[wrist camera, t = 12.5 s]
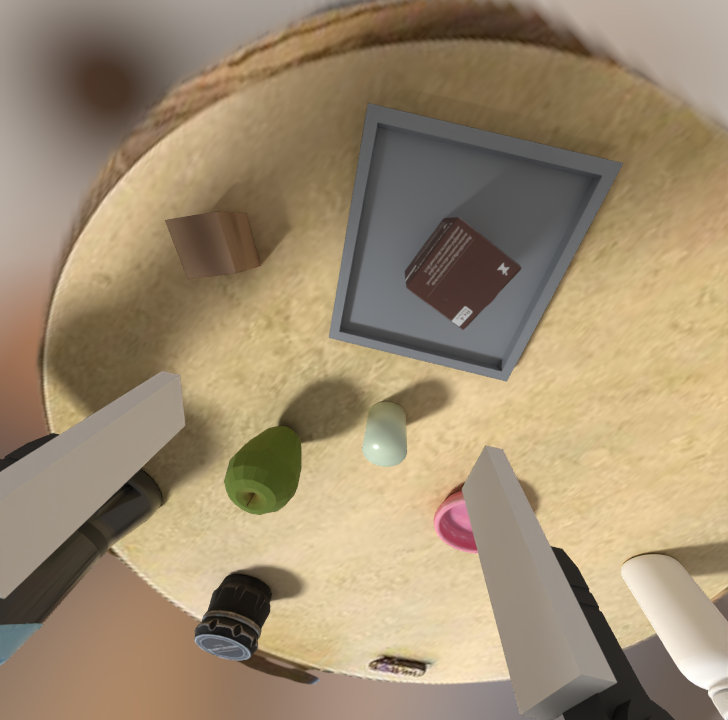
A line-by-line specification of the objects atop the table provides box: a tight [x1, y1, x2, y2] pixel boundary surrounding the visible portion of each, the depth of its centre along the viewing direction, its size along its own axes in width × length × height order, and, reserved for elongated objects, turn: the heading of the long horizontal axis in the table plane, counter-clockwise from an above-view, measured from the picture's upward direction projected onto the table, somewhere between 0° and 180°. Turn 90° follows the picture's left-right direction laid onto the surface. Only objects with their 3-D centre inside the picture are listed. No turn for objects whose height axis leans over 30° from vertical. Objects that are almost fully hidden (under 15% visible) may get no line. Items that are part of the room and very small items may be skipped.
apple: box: [224, 426, 301, 515], centre depth 35 cm, size 9×8×12 cm
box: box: [405, 217, 521, 330], centre depth 24 cm, size 6×6×7 cm
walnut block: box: [165, 212, 261, 279], centre depth 27 cm, size 5×5×5 cm
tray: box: [329, 103, 623, 381], centre depth 27 cm, size 20×20×2 cm
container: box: [194, 574, 272, 660], centre depth 57 cm, size 13×13×10 cm
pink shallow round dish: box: [434, 490, 478, 553], centre depth 41 cm, size 12×12×3 cm
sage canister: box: [362, 401, 407, 467], centre depth 34 cm, size 5×5×6 cm
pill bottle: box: [621, 554, 728, 720], centre depth 37 cm, size 8×8×15 cm
